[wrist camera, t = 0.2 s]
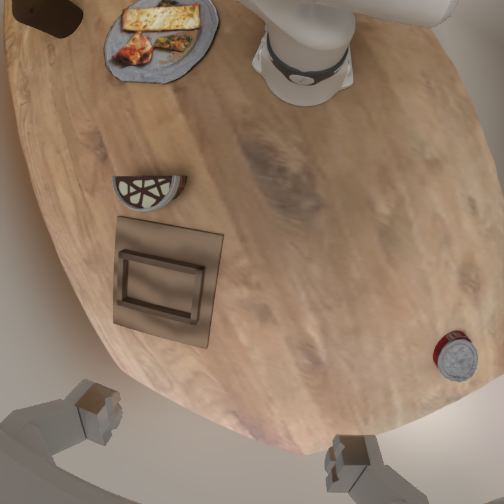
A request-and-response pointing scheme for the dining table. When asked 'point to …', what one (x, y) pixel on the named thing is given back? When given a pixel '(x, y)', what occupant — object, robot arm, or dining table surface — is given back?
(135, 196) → the food container
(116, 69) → the food plate
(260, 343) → the dining table surface
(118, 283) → the caddy board
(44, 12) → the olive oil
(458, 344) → the canned food
